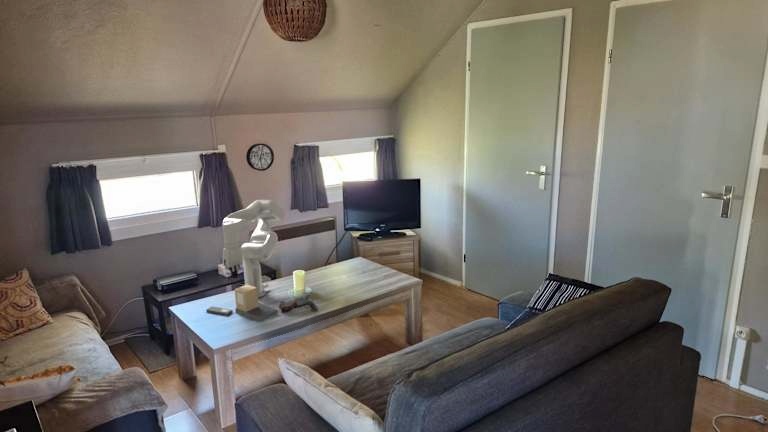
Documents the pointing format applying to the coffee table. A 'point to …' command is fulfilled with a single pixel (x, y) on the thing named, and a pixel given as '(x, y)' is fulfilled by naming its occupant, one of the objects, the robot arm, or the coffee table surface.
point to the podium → (259, 312)
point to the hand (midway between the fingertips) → (234, 277)
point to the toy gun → (297, 304)
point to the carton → (246, 298)
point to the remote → (219, 311)
